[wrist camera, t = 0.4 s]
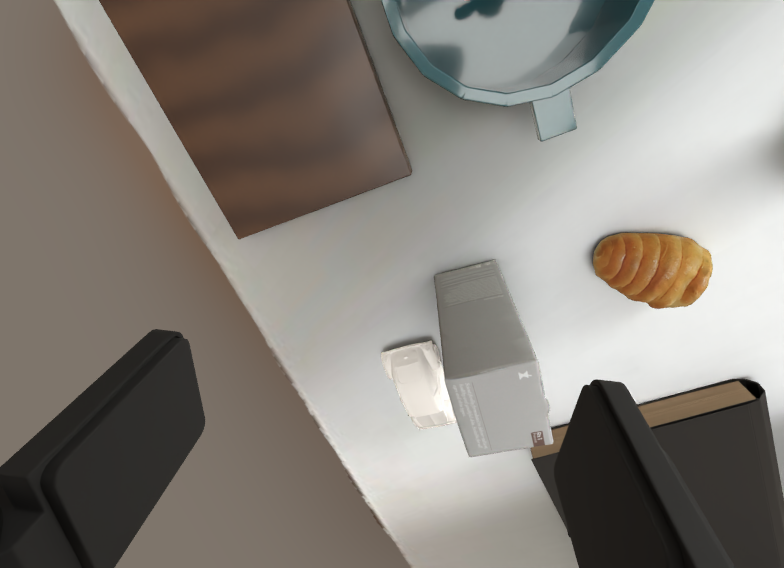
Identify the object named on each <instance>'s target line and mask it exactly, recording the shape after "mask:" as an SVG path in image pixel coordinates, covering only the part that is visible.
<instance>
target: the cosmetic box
mask: <svg viewBox="0 0 784 568" xmlns="http://www.w3.org/2000/svg"><path fill="white" fill-rule="evenodd" d="M434 280H435V288H436V298H437V308H438V317H439V327H440V336H441V346H442V356H443V366H444V378H445V380H444V381H445V385H446V388H447V392H448V395H449V398H450V401H451V404H452V408H453V411H454V414H455V417H456V420H457V423H458V426H459V429H460V432H461V435H462V438H463V441H464V444H465V447H466V450H467V452H468V455H469V457H476V456H482V455H488V454H494V453H500V452H505V451H512V450H518V449H524V448H530V447H537V446H543V445H550V444H553V437H552V431H551V426H550V421H549V416H548V413H549V411H550V405H549V402H548V400H547V399H546V398H545V394H544V388H543V383H542V377H541V372H540V367H539V362H538V360H537V357H536V355H535V352H534V350H533V348H532V345H531V343H530V340H529V338H528V335H527V333H526V331H525V328H524V326H523V323H522V321H521V319H520V316H519V314H518V312H517V309H516V307H515V304H514V302H513V300H512V297H511V295H510V293H509V290H508V288H507V285H506V283H505V281H504V278H503V276H502V274H501V271H500V269H499V266H498V264H497V262H496V260H492V261H489V262H485V263H481V264H477V265H473V266H469V267H465V268H462V269H458V270H454V271H450V272H446V273H441V274H436V275H435V276H434Z"/></svg>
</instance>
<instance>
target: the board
mask: <svg viewBox="0 0 784 568" xmlns="http://www.w3.org/2000/svg"><path fill="white" fill-rule="evenodd" d="M99 1H100V3H101V5H102V6H103V8H104V10H105V12H106V13H107V15H108V17H109V18H110V20H111V22H112V24H113V25H114V27H115V29H116V30H117V32H118V34H119V36H120V37H121V39H122V41H123V42H124V44H125V46H126V48H127V49H128V51H129V53H130V54H131V56H132V58H133V60H134V61H135V63H136V65H137V66H138V68H139V70H140V72H141V73H142V75H143V77H144V78H145V80H146V82H147V84H148V85H149V87H150V89H151V90H152V92H153V94H154V96H155V97H156V99H157V101H158V102H159V104H160V106H161V108H162V109H163V111H164V113H165V114H166V116H167V118H168V120H169V121H170V123H171V125H172V126H173V128H174V130H175V132H176V133H177V135H178V137H179V138H180V140H181V142H182V143H183V145H184V147H185V149H186V150H187V152H188V154H189V155H190V157H191V159H192V161H193V162H194V164H195V166H196V167H197V169H198V171H199V173H200V174H201V176H202V178H203V179H204V181H205V183H206V185H207V186H208V188H209V190H210V191H211V193H212V195H213V197H214V198H215V200H216V202H217V203H218V205H219V207H220V209H221V210H222V212H223V214H224V215H225V217H226V219H227V221H228V222H229V224H230V226H231V227H232V229H233V231H234V233H235V234H236V236H237V238H238V239H241V238H244V237H247V236H249V235H252V234H255V233H257V232H260V231H263V230H265V229H268V228H271V227H273V226H276V225H279V224H281V223H284V222H287V221H289V220H292V219H295V218H297V217H300V216H303V215H305V214H308V213H311V212H313V211H316V210H319V209H321V208H324V207H327V206H329V205H332V204H335V203H337V202H340V201H343V200H345V199H348V198H351V197H353V196H356V195H359V194H361V193H364V192H367V191H369V190H372V189H375V188H377V187H380V186H383V185H385V184H388V183H391V182H393V181H396V180H399V179H401V178H404V177H407V176H409V175H411V173H412V169H411V166H410V163H409V161H408V158H407V155H406V152H405V150H404V147H403V144H402V142H401V139H400V136H399V133H398V131H397V128H396V125H395V122H394V120H393V117H392V114H391V111H390V109H389V106H388V103H387V101H386V98H385V95H384V92H383V90H382V87H381V84H380V81H379V79H378V76H377V73H376V70H375V68H374V65H373V62H372V60H371V57H370V54H369V51H368V49H367V46H366V43H365V40H364V38H363V35H362V32H361V30H360V27H359V24H358V21H357V19H356V16H355V13H354V10H353V8H352V5H351V2H350V0H99Z"/></svg>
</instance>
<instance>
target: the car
mask: <svg viewBox="0 0 784 568" xmlns="http://www.w3.org/2000/svg"><path fill="white" fill-rule="evenodd" d="M381 358H382V363H383V367H384V370H385V372H386V375H387V377H388V378H389V379H393V381H394V384H395V386H396V389H397V391H398V393H399V396H400V400H401V402H402V403H403V406H404V407H405V409H406V411H407V413H408V416H409V415H410V416H411V419H412V421H413V423H414V425H415V426H416V427H418V428H419V430H420V429H427V428H434V427H439V426H444V425H449V424H453V423H457V420H456V417H455V414H454V411H453V408H452V404H451V401H450V398H449V395H448V392H447V388H446V385H445V381H444V380H445V378H444V371H443V367H442V364H441V362H440V356H439V352H438V349H437V346H436V345H435V344H432V340H430V341H428V342H423V343H417V344H412V345H411V344H410V345H407V346H403V347H399V348H396V349H392V350H389V351H386V352H381Z"/></svg>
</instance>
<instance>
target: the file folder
mask: <svg viewBox="0 0 784 568" xmlns="http://www.w3.org/2000/svg"><path fill="white" fill-rule="evenodd" d="M637 406H638V408H639V410H640V412H641V413H642V415H643V417H644V418H645V420H646V422H647V423H648V425H649V427H650V429H651V430H652V432H653V434H654V435H655V437H656V439H657V441H658V442H659V444H660V446H661V447H662V449H663V450H664V451H665V452H666V453H667V454H668V456H669V457H670V458H671V460H672V462H673V463H674V465H675V467H676V468H677V470H678V472H679V473H680V475H681V477H682V479H683V480H684V482H685V484H686V485H687V487H688V489H689V490H690V492H691V494H692V495H693V497H694V499H695V500H696V502H697V504H698V505H699V507H700V509H701V511H702V512H703V514H704V516H705V517H706V519H707V521H708V522H709V524H710V526H711V527H712V529H713V531H714V532H715V534H716V536H717V538H718V539H719V541H720V543H721V544H722V546H723V548H724V549H725V551H726V553H727V554H728V556H729V558H730V559H731V561H732V563H733V564H734V566H735V568H784V498H783V493H782V487H781V481H780V475H779V470H778V464H777V458H776V452H775V446H774V441H773V435H772V429H771V423H770V417H769V412H768V406H767V400H766V394H765V390H764V389H763V388H762V387H761V386H760V384H759V383H757V382H754V381H750V380H747V379H746V380H745V379H732V380H728V381H724V382H720V383H716V384H713V385H709V386H705V387H702V388H698V389H694V390H691V391H687V392H683V393H680V394H676V395H672V396H669V397H665V398H661V399H658V400H654V401H650V402H647V403H643V404H639V405H637ZM568 426H569V424H566V425H562V426H558V427H555V428H551V431H552V437H553V444H550V445H543V446H537V447H530V448H531V452H532V456H533V459H531V460H532V462H533V464H534V466H535V468H536V470H537V472H538V474H539V476H540V478H541V479H542V481H543V483H544V485H545V487H546V489H547V491H548V493H549V495H550V497H551V499H552V501H553V503H554V505H555V507H556V509H557V511H558V513H559V515H560V517H561V518H562V520H563V522H564V524H565V526H566V528H567V531H568V535H569V537H570V533H569V530H568V526H567V523H566V519H565V515H564V512H563V508H562V505H561V501H560V497H559V494H558V490H557V487H556V483H555V479H554V465H555V461H556V459H557V456H558V453H559V450H560V448H561V445H562V442H563V439H564V437H565V434H566V431H567V429H568Z"/></svg>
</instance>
